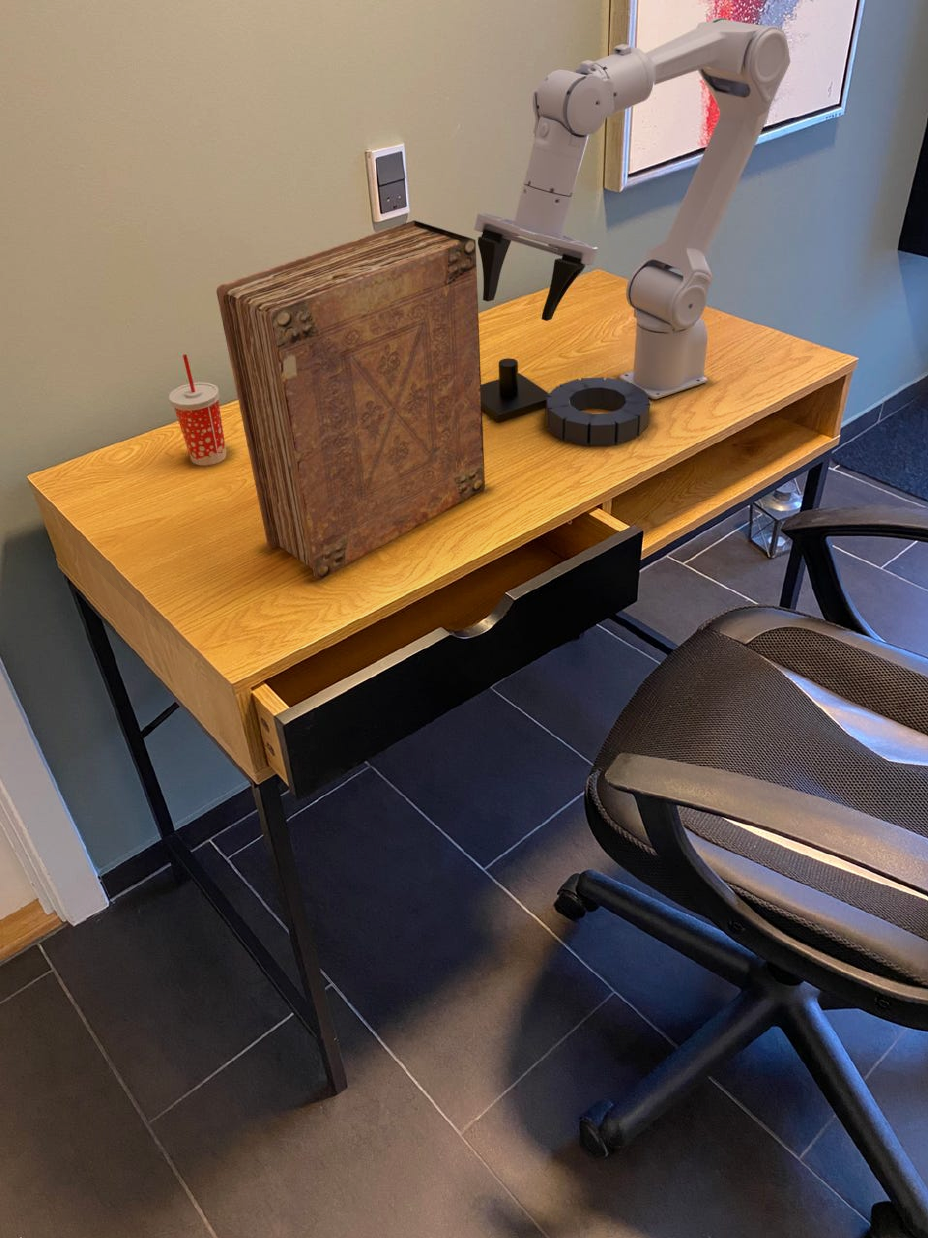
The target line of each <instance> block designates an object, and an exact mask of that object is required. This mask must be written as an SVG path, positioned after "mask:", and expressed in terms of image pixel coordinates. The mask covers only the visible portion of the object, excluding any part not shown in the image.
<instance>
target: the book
mask: <svg viewBox="0 0 928 1238" xmlns="http://www.w3.org/2000/svg"><path fill="white" fill-rule="evenodd" d="M476 241H477V240H476V239H474V238H471V237H470V236H465V235H462V234H459V233H457V232H453V231H450V230H446V229H444V228H440V227H437V226H434V225H430V224H427V223H425V222H421V221H418V220H410V221H408V222H405V223H402V224H399V225H396V226H394V227H393V226H392V227H390V228H386V229H383V230H381V231H378V232H375V233H372V234H369V235H366V236H363V237H360V238H357V239H354V240H351V241H348V242H345V243H341V244H339V245H337V246H333V247H331V248H327V249H325V250H321V251H319V252H316V253H312V254H310V255H306V256H303V257H301V258H298V259H295V260H291V261H289V262H288V261H287V262H285V263H283V264H279V265H277V266H273V267H271V268H268V269H267V268H266V269H265V270H261V271H259V272H255V273H253V274H250V275H247V276H244V277H241V278H237V279H235V280H232V281H229V282H226V283H223V284H220V285H219V286H218V287H217V288H216V291H215V293H216V297H217V301H218V305H219V306H218V307H219V312H220V316H221V321H222V326H223V331H224V336H225V341H226V344H227V345H226V346H227V351H228V356H229V362H230V366H231V370H232V375H233V381H234V385H235V386H234V387H235V391H236V396H237V401H238V405H239V410H240V415H241V421H242V426H243V430H244V431H243V432H244V435H245V440H246V445H247V450H248V455H249V460H250V465H251V470H252V475H253V480H254V484H255V490H256V495H257V500H258V504H259V509H260V514H261V520H262V524H263V530H264V535H265V540H266V544H267V546H268V548H270V549H274V548H276V547H278V546H279V547H280V548H282V549H283V550H284V551H286V552H288V553H289V554H291V555H292V557H295V558H296V559H297V560H299V561H300V562H301V563H303V564H304V565H306V566H308V567H309V568H310V569H312V570H313V571H312V572H313V576H314V578H316V579H318V580H322V579H324V578H326V577H328V576H330V575H331V574H333V573H336V572H337V571H339V570H340V569H342V568H344V567H346V566H348V565H350V564H352V563H353V562H355V561H357V560H359V559H361V558H362V557H365V556H366V555H368V554H370V553H371V552H373V551H376V550H377V549H379V548H381V547H383V546H384V545H386V544H388V543H390V542H392V541H394V540H395V539H397V538H399V537H401V536H403V535H404V534H406V533H409V532H410V531H412V530H413V529H415V528H417V527H419V526H421V525H424V523H427V522H428V521H430V520H432V519H433V518H436V517H438V516H439V515H441V514H443V513H444V512H446V511H448V510H450V509H452V508H453V507H456V506H457V505H459V504H461V503H462V502H464V501H466V500H468V499H470V498H472V497H473V496H475V495H477V494H479V493H481V492H482V491H483V492H484V491H485V488H486V478H485V453H484V451H485V450H484V449H485V448H484V426H483V411H482V396H481V384H482V374H481V373H482V372H481V348H480V345H481V343H480V321H479V295H478V269H477V265H478V264H477V243H476Z"/></svg>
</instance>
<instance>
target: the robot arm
mask: <svg viewBox="0 0 928 1238" xmlns="http://www.w3.org/2000/svg"><path fill="white" fill-rule="evenodd" d="M790 63H791V57H790V49H789V43H788V39H787V35H786V33H785V32H784V30H783V29H782V28H780V27H779V26H778V25H763V24H762V25H761V24H754V23H749V22H748V23H747V22H743V21H737V20H736V21H735V20H730V19H727V18H725V17H716V18H713V19H711V20H709V21H702V22H699V23H698V24H697V26H696V28H693V29H692V30H690V31H688V32H686V33H684V34H681V35H680V36H678V37H676V38H673V39H671V40H669V41H667V42H665V43H663V44H661V45H659V46H657V47H655V48H653V49H651V50H649V51H647V52H645V51H643V50H642V49H640V48H639V47H636V46H631V45H628V44H625V43H620V44H618V45H616V46H614V47H613V53H612V54H610V55H606V56H604V57H602V58H600V59H597V60H594V61H593V60H589V59H586V60H583V61H580V63H579V67H578V68H576V69H575V70H574V71H570V70H566V69H556V70H554V71H551V72H550V73H549V74H548V75H547V76H546V77H545V78H544V79H543V80H542V82H541V83H540V85H539V87H538V89H537V90H534V91H533V95H532V110H533V114H534V119H535V121H534V123H535V124H534V127H533V132H532V133H533V134H534V135H533V137H534V140H533V144H532V147H531V152H530V156H529V159H528V164H527V168H526V171H525V177H524V180H523V184H522V188H521V192H520V197H519V200H518V205H517V209H516V213H515V217H514V220H512V219H508V218H504V217H501V216H497V215H494V214H490V213H487V212H478V213H477V215H476V219H475V223H474V229H473V230H474V231H477V232H479V233H481V235H480V236H478V238H477V246H478V250H479V254H480V258H481V266H482V277H483V279H482V280H483V293H482V294H483V295H482V300H483V301H484V302H487V303H488V302H492V301H494V300H495V297H496V294H497V291H498V285H499V281H500V276H501V271H502V267H503V265H504V263H505V259H506V255H507V253H508V250H509V248H510V245H511V243H512V242H514V243H518V244H521V245H525V246H528V247H530V248H534V249H537V250H540V251H544V252H547V253H549V254H552V255H553V254H554V255H557V256H560V257H561V258H559V257H558V258H555V259H554V261H553V267H552V268H553V269H552V273H551V274H552V275H551V280H550V285H549V291H548V294H547V297H546V300H545V303H544V307H543V309H542V314H541V320H542V321H545V322H548V321H551V320H553V317H554V314H555V312H556V310H557V308H558V306H559V304H560V303H561V301H562V299H563V297H564V296H565V294H566V292H567V291H568V290H569V288H570V287H571V286H572V284H573V283H574V281H575V280H576V279H577V278H578V276H579V275H580V274H582V272H583V270H584V269H585V267H586V266H588V267H589V266H592V265H594V263H595V260H596V256H597V253H598V247H597V246H594V245H591V244H587V243H585V242H582V241H580V240H576V239H573V238H571V237H569V236H566V235H563V232H564V229H565V225H566V221H567V217H568V214H569V210H570V206H571V203H572V199H573V195H574V191H575V187H576V183H577V181H578V180H577V179H578V176H579V172H580V168H581V165H582V162H583V161H582V160H583V158H584V154H585V151H586V147H587V143H588V139H589V135H595V133H597V132H598V131H599V130H600V128H601V127H602V126H603V124H604V123H605V121H606V119H607V118H608V117H611V116H613V115H616V114H618V113H621V112H624V111H625V110H628V109H630V108H632V107H636V106H637V105H639V104H641V103H644V102H645V101H647V100H648V99H649V97H650V96H651V94H652V92H653V88H654V86H657V85H659V84H663V83H665V82H668V81H671V80H673V79H676V78H679V77H682V76H685V75H688V74H692V73H695V72H698V73H699V75H700V77H701V79H702V80H703V82H704V84H705V85H706V88H707V89H708V91H709V93H710V95H711V96H712V98H713V100H714V101H715V102H716V104H717V108H718V111H719V117H718V119H717V122H716V124H715V126H714V129H713V131H712V133H711V134H710V135H711V136H710V138H709V140H708V143H707V145H706V147H705V148H704V149H705V150H704V151H703V154H702V156H701V158H700V161H699V163H698V165H697V167H696V170H695V172H694V175H693V177H692V179H691V182H690V184H689V186H688V187H687V191H686V193H685V195H684V198H683V200H682V202H681V205H680V207H679V209H678V211H677V214H676V216H675V217H674V218H675V219H674V220H673V222H672V224H671V228H670V230H669V232H668V234H667V237H666V239H665V240H664V241H662V242H661V243H658V244H657V245H654V246H653V247H651V248H648V250H646V252H645V254H644V256H643V259H642V260H641V262H640V264H639V265H638V266H637V267H636V268H635V269H634V271H633V272H632V273H631V275H630V277H629V279H628V281H627V284H626V288H625V297H626V301H627V303H628V305H629V307H631V308H632V309H633V317H634V318H635V319H636V327H635V328H636V329H635V341H634V342H635V343H634V357H633V371H629V372H627V373H624V374H621V375H619V380H622V381H627V382H628V384H629V383H632V384H634V385H636V386H637V387H639V388H641V389H642V390H644V391H645V393H647V396H648V398H650V399H652V400H658V399H660V398H663V397H667V396H670V395H674V394H676V393H678V392H681V391H685V390H687V389H690V388H693V387H696V386H699V385H702V384H705V383H707V382H708V378H707V377H706V376H705V375H704V374H705V366H706V358H707V348H708V339H709V337H708V336H709V335H708V329H707V326H706V323H705V321H704V320H703V318H702V315H703V313H704V311H705V309H706V305H707V299H708V293H709V289H710V286H711V284H712V282H713V280H714V277H713V273H712V271H711V269H710V266H709V265H708V263H707V260H706V254H707V252H708V250H709V249H710V248H709V247H710V245H711V243H712V241H713V239H714V237H715V234H716V231H717V229H718V228H719V225H720V223H721V221H722V219H723V217H724V214H725V212H726V210H727V207H728V205H729V204H730V201H731V199H732V196H733V194H734V192H735V190H736V188H737V185H738V183H739V181H740V179H741V177H742V175H743V172H744V170H745V169H746V166H747V163H748V161H749V159H750V157H751V154H752V153H753V150H754V148H755V146H756V144H757V141H758V140H759V137H760V135H761V132H762V130H763V128H764V126H765V124H766V122H767V120H768V117H769V114H770V110H771V107H772V104H773V102H774V99H775V97H776V95H777V93H778V90H779V88H780V86H781V83H783V82H782V81H783V80H784V77H785V75H786V73H787V70H788V68H789V66H790ZM531 240H532V241H531ZM534 241H535V242H534ZM538 242H539V243H538ZM541 243H543V244H541ZM544 244H546V245H544ZM672 269H675V270H679V271H680V272H681V273H682V274H680V273H677V272H675V271H673V270H672Z"/></svg>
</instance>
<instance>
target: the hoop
mask: <svg viewBox="0 0 928 1238" xmlns="http://www.w3.org/2000/svg"><path fill="white" fill-rule="evenodd" d="M548 393H549V394H548V395H547V397H546V407H545V414H546V415H545V419H546V426H547V427H546V428H547V429H548V431H549V432H551V433H552V434H553V435H555V436H556V437H557V438H559V439H560V440H562V441H563V440H564V441H565V442H568V443H572V444H577V445H581V446H588V445H589V447H602V446H614V445H615V444H616V445H621V444H623V443H626V442H629V441H631V440H635V439H637V438H638V437H640V436H641V435H642V433H643V432H644V431H645V430H646V429H647V428H648V426H649V423H650V411H651V402H650V399H649V396H647V393H645V391H644V390H642V389H641V388H639V387H637V386H636V385H634V384H632V383H629V384H628V382H627V381H622V380H621V379H616V378H611V377H606V378H605V377H604V376H602V377H581V378H580V379H579V378H576V379H573V380H571V381H566V382H564V383H560V384H559V385H557V386H555V387H554V388H553V389H552V390H551V391H550V392H548ZM600 408H601V409H606V410H611V411H610V412H606V413H605V412H604V413H603V412H602V413H590V412H586V411H583V410H586V409H600Z"/></svg>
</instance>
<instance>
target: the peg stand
mask: <svg viewBox="0 0 928 1238" xmlns="http://www.w3.org/2000/svg"><path fill="white" fill-rule="evenodd" d="M549 393H550V392H548V391H546V390H545V389H544V388H542V387H541V386H539V385H537V383H535V382H534V381H532V380H530V379H529V378H527V377H526V376H524V375H523V374H521V373H520V372H519V362H518V360H517V359H516V358H510V357H509V358H508V357H507V358H502V359H500V360H499V361H498V379H494V380H492V381H488V382H485V383H481V396H482V412H483V413H485V414H486V415H487V416H489V417H490V418H492V420H494V421H496V423H498V424H499V423H502V422H504V421H508V420H511V419H514V418H517V417H521V416H523V415H526V414H527V415H528V414H529V413H533V412H535V411H539V410H541V409H544V408H545V409H546V397H547V395H548V394H549Z"/></svg>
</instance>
